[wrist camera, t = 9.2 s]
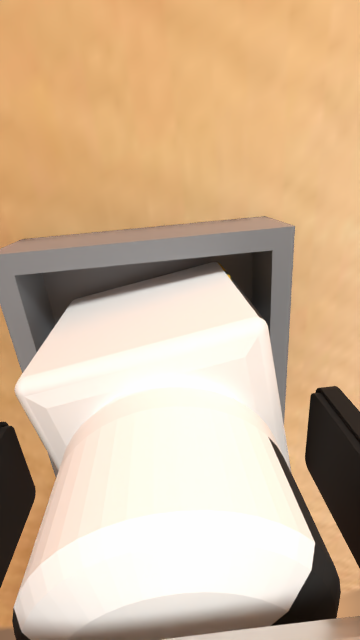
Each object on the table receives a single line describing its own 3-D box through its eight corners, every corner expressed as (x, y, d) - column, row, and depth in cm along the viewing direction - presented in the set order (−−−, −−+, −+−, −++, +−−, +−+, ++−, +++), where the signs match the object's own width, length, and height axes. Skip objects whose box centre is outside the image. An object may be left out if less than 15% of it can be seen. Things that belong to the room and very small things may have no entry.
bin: (261, 410, 20) (282, 455, 16) (73, 431, 19) (57, 482, 16) (265, 216, 15) (294, 226, 12) (21, 239, 15) (-16, 256, 12)
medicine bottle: (245, 384, 18) (394, 719, 7) (119, 417, 18) (63, 790, 7) (219, 258, 15) (402, 478, 4) (69, 298, 15) (-157, 613, 4)
